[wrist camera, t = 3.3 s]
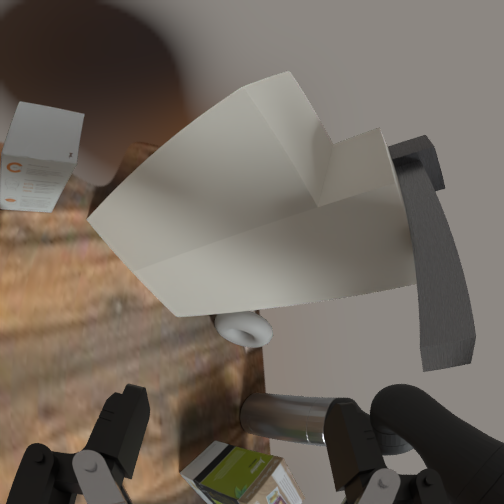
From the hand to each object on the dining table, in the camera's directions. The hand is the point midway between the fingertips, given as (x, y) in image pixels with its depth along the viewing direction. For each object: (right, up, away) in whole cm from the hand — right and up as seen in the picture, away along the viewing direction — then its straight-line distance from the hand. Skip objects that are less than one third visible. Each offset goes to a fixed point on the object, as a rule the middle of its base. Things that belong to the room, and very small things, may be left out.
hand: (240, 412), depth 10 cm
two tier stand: (-14, +8, +31) cm, 35 cm away
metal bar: (+13, +9, +9) cm, 19 cm away
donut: (-5, -7, +37) cm, 38 cm away
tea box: (-7, -34, +26) cm, 43 cm away
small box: (-28, +15, +15) cm, 35 cm away
